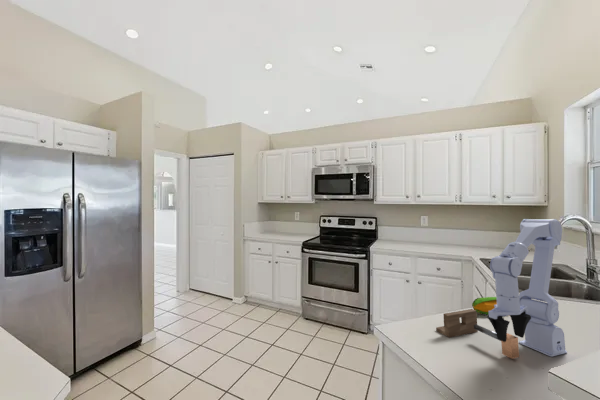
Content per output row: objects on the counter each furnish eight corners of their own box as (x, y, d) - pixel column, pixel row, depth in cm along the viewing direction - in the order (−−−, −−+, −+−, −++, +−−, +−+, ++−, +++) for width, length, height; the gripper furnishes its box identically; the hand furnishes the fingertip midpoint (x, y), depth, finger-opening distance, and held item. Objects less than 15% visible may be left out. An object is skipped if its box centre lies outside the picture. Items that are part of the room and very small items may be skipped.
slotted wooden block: (477, 331, 99) (476, 310, 99) (449, 337, 95) (447, 315, 95) (463, 325, 104) (462, 305, 105) (436, 330, 100) (435, 309, 101)
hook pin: (519, 357, 80) (517, 337, 80) (512, 358, 79) (510, 339, 79) (479, 338, 92) (478, 321, 92) (473, 339, 91) (472, 322, 92)
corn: (466, 295, 119) (506, 292, 121) (467, 311, 119) (506, 308, 121) (479, 301, 112) (521, 298, 113) (479, 318, 112) (521, 315, 114)
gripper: (510, 288, 87) (513, 329, 87) (478, 293, 83) (481, 336, 83) (534, 294, 81) (537, 338, 80) (500, 300, 77) (503, 347, 76)
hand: (510, 338), depth 81 cm, fingers open, 7 cm apart
